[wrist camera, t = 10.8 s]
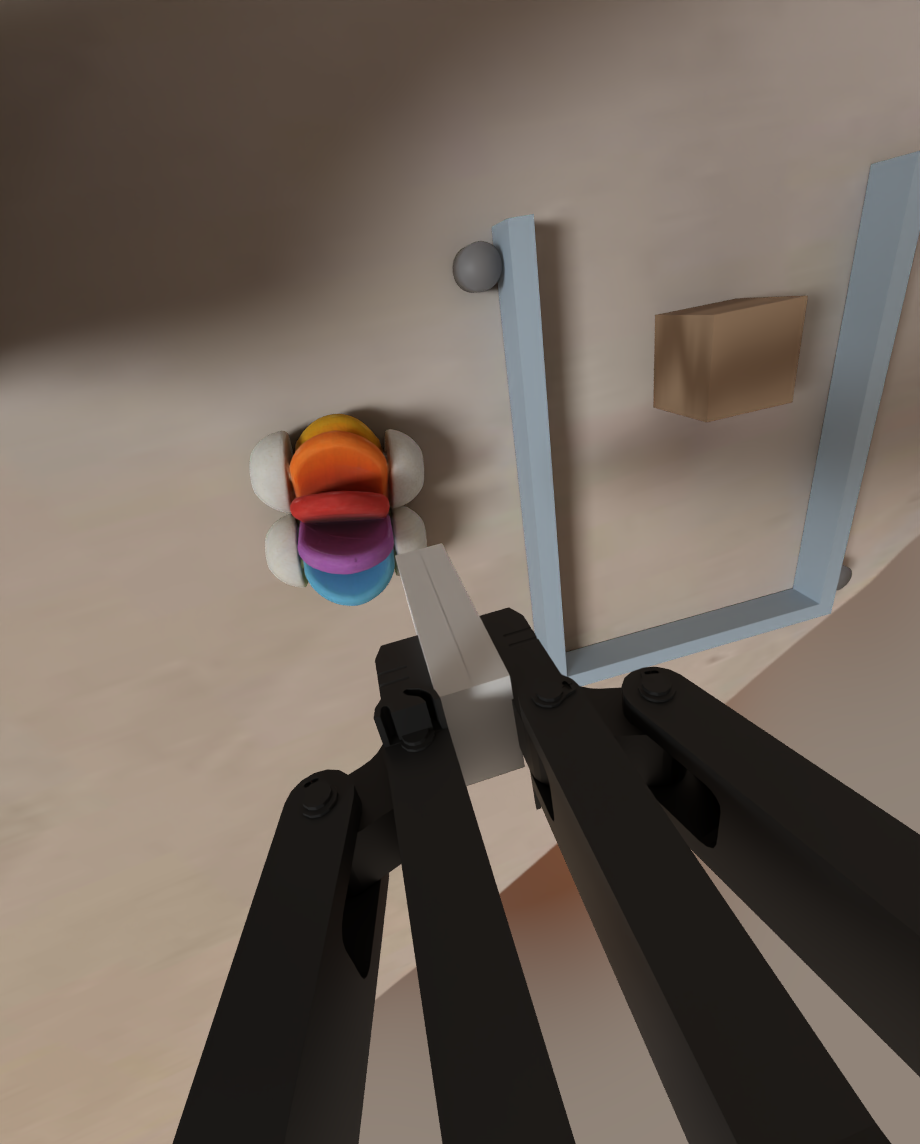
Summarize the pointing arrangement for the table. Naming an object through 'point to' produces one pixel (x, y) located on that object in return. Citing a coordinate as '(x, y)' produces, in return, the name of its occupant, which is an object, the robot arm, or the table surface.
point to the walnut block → (728, 356)
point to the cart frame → (872, 310)
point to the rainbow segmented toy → (339, 506)
